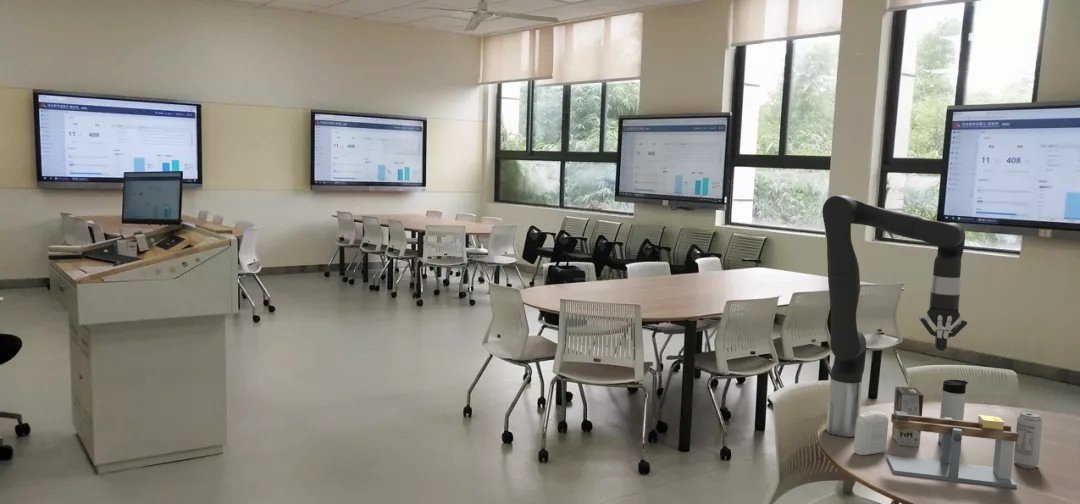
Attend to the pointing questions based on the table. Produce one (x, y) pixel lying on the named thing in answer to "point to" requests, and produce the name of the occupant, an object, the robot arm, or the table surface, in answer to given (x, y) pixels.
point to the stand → (959, 464)
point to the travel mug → (953, 401)
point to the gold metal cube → (990, 423)
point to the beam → (949, 426)
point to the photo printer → (871, 433)
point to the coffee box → (913, 405)
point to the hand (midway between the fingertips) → (940, 350)
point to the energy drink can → (1028, 439)
